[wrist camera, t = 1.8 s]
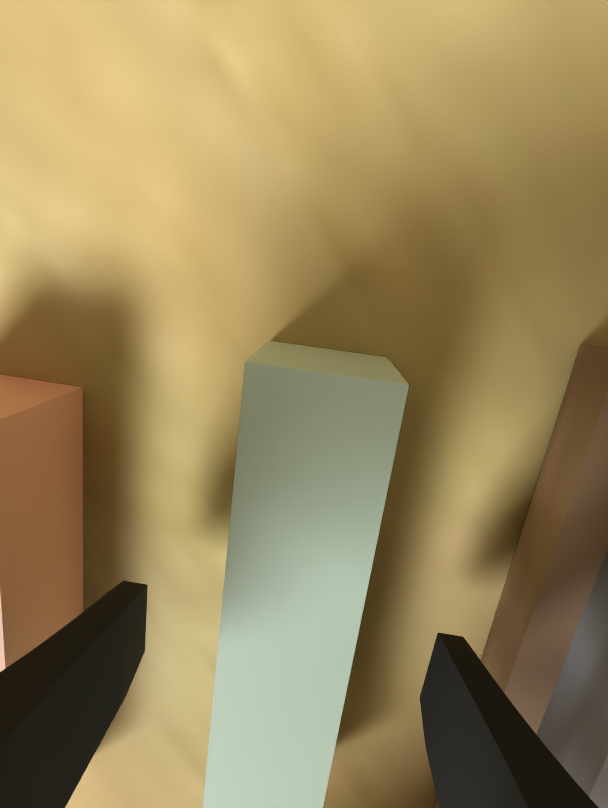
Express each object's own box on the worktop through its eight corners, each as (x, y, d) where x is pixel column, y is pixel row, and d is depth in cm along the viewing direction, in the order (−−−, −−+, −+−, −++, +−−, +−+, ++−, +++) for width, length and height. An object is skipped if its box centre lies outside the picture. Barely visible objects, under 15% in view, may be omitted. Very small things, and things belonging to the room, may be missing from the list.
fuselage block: (312, 750, 15) (306, 887, 11) (227, 736, 15) (197, 868, 11) (385, 355, 11) (409, 384, 8) (271, 339, 11) (245, 361, 8)
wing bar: (87, 753, 15) (19, 882, 12) (8, 739, 16) (-82, 863, 12) (87, 384, 12) (-11, 423, 8) (-16, 368, 12) (-156, 401, 8)
